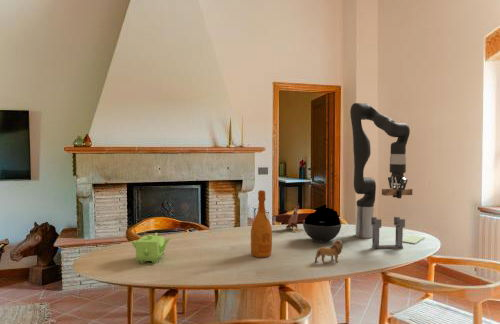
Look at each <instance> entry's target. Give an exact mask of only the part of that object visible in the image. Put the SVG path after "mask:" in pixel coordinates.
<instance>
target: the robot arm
mask: <svg viewBox="0 0 500 324" xmlns="http://www.w3.org/2000/svg"><path fill="white" fill-rule="evenodd" d="M349 112H350V114H349V115H350V121H351V130H352V144H353V145H352V147H353V164H354V166H353V167H354V169H353V189H354V191H355V193H356V194H357V195H363V196H362V197H361V198H359V199H357V201H356V217H355V237H356V238H363V239H372V237H373V226H372V225H371V217H375V214H374V213H375V209H374V207H375V201H376V193H377V191H376V190H377V184H376V181H375V179H374V178H373V177H364V172H365V167H366V164H367V162H368V160H369V159H370V157H371V153H372V152H371V151H372V149H371V142H370V139H369V137H368V135H367V133H366V132H365V130H364V129H363V126H362V125H363V124H362V121H363V120H367V121H371V122H373V124H374V125H375V127H377V128H378V129H381V131H384V133H385V134H387V135H388V137H391V138H397V140H396V141H394V142H392V143H391V144H390V156H389V173H391V175H390V176H388V177H387V180H388V185H389V189H397V195H392V198H397V199H402V196H403V195H402V190H405V188H406V186H407V183H408V182H409V181H408V178H405V175H404V174H406V172H407V169H406V168H407V157H406V156H407V155H406V154H407V153H406V152H407V151H406V150H407V147H406V146H407V145H408V141H409V136H410V133H411V129H410V126H409V125H408V124H407V123H402V122H396V121H395V120H394V119H392V118H390V117H389V116H387V115H385V114H383V113H381V112H379V111H378V110H377V109H376V108H374V107H373V106H371V104H368V103H365V102H363V103H360V102H355V103H352V105H351V106H350V111H349Z"/></svg>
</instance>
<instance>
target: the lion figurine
mask: <svg viewBox="0 0 500 324" xmlns="http://www.w3.org/2000/svg"><path fill="white" fill-rule="evenodd" d="M342 252H343V243H342V241H341V240H338V239H336V240H334V241H333V244H332V245H331V246H330V247H326V246H325V247H323V246H322V247H319V248H318V249H317V251H316V255H315V257H314V264H316V263H318V262H319V260H318V258H319V257H321V262H322V263H323V264H324V265H326V264H327V262H326V261H325V258H326V256H327V257H330V261H331V262H334V261H335V263H339V261H338V257H339V255H340V254H341V253H342Z"/></svg>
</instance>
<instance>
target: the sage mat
mask: <svg viewBox="0 0 500 324" xmlns="http://www.w3.org/2000/svg"><path fill="white" fill-rule="evenodd" d="M424 239H425V236H419V235H413V234H409V235H406V236H405V237H403V239H402V243H404V244H409V245H410V244H412V245H417V244H419V243H420V242H421V241H422V240H424Z"/></svg>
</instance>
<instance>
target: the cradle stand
mask: <svg viewBox="0 0 500 324" xmlns="http://www.w3.org/2000/svg"><path fill="white" fill-rule="evenodd" d="M393 217H394V218H393V226H395V244H380V229H381V228H382V219H381V218H378V217H377V216H374V217H371V225H372V226H373V237H372V238H371V239H372V241H371V242H372V245H371V249H373V250H387V249H388V250H389V249H390V250H392V249H395V250H396V249H398V250H399V249H404V246H403V242H402V239H403V238H404V237H403V235H404V234H403V230H404V229H403V228H405V227H406V219H405V218H401V217H400V216H393Z"/></svg>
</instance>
